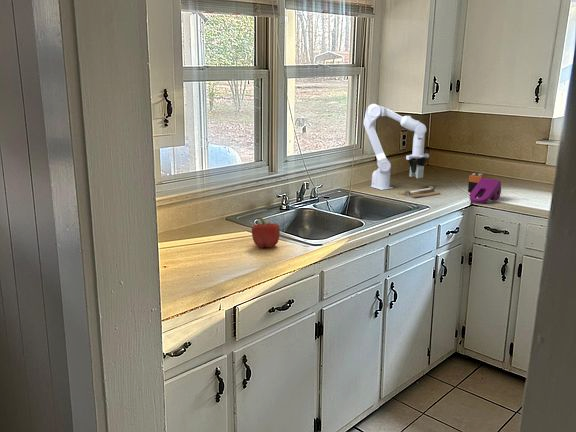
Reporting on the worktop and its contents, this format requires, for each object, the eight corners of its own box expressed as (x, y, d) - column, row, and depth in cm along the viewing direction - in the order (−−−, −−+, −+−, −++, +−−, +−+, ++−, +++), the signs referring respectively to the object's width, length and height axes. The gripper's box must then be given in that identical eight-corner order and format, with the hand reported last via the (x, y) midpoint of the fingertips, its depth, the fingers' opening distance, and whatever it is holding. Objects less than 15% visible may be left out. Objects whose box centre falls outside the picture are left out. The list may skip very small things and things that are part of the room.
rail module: (409, 176, 308) (410, 164, 306) (414, 175, 310) (415, 164, 309) (417, 178, 303) (418, 166, 302) (423, 177, 305) (424, 166, 304)
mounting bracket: (486, 216, 280) (501, 194, 290) (484, 201, 276) (500, 180, 285) (467, 212, 286) (483, 191, 296) (465, 198, 282) (482, 177, 291)
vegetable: (245, 244, 214) (245, 218, 212) (269, 240, 220) (269, 214, 217) (261, 252, 206) (261, 225, 203) (285, 247, 211) (285, 221, 209)
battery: (480, 194, 298) (482, 175, 295) (467, 192, 302) (469, 173, 300) (483, 193, 301) (485, 173, 299) (471, 190, 305) (472, 172, 303)
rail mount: (398, 193, 296) (399, 188, 296) (424, 190, 306) (424, 184, 305) (414, 198, 287) (414, 192, 287) (440, 194, 297) (440, 188, 296)
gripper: (413, 148, 295) (411, 174, 299) (434, 146, 303) (432, 172, 307) (403, 146, 301) (402, 172, 305) (424, 144, 309) (422, 170, 312)
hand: (416, 172), depth 306 cm, fingers closed on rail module, 4 cm apart
